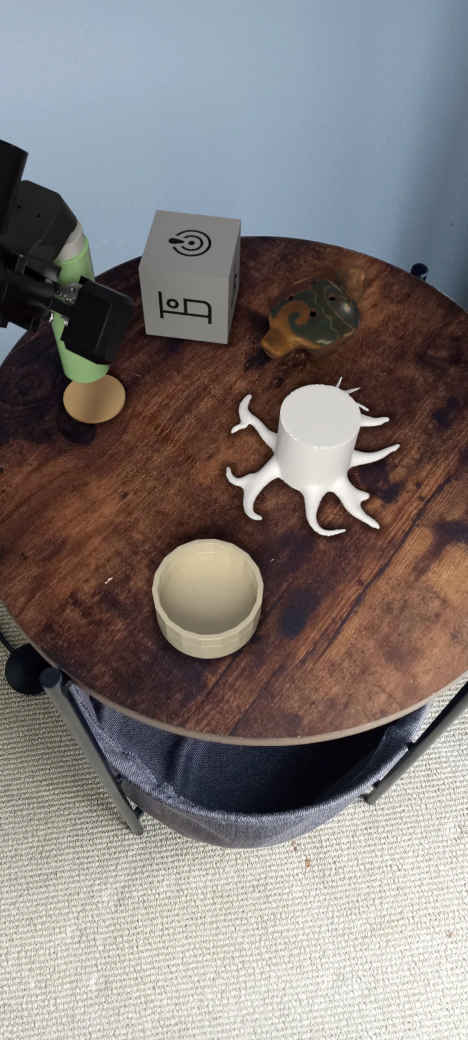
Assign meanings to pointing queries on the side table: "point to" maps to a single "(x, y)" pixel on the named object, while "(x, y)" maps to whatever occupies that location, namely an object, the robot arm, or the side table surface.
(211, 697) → the side table surface
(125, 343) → the side table surface
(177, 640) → the bowl
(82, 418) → the coaster
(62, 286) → the robot arm
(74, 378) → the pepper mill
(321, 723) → the side table surface
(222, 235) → the icon cube
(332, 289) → the ocarina
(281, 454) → the tree stump
